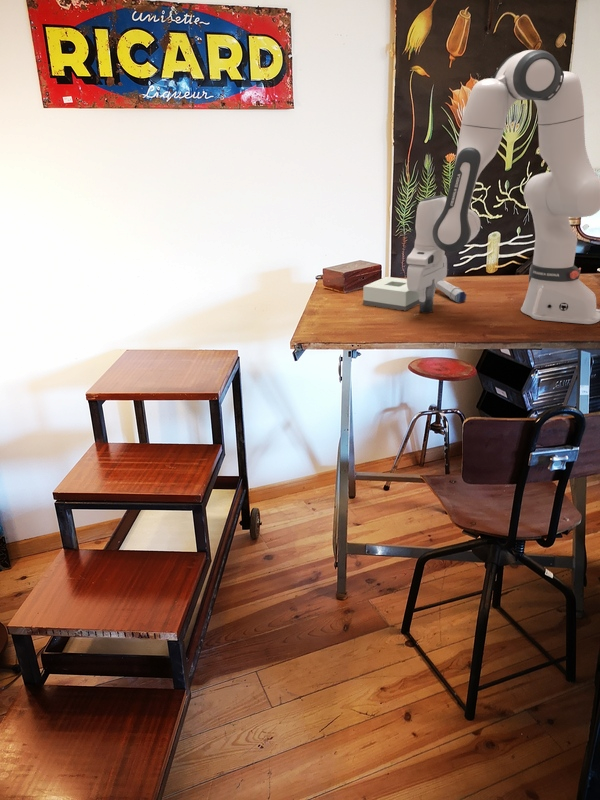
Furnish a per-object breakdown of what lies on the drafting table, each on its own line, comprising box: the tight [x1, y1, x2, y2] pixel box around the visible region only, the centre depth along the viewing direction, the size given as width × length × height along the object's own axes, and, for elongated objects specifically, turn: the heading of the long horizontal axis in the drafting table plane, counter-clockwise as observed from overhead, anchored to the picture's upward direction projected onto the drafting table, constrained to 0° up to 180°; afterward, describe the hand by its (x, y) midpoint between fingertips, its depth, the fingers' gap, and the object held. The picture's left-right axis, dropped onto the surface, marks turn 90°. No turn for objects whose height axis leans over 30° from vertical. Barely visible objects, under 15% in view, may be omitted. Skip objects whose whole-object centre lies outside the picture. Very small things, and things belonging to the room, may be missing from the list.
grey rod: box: [436, 279, 467, 304], centre depth 202 cm, size 5×7×25 cm
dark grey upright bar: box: [418, 279, 435, 314], centre depth 182 cm, size 4×4×10 cm
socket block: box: [362, 276, 420, 312], centre depth 193 cm, size 15×15×6 cm
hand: (426, 299), depth 183 cm, fingers closed on dark grey upright bar, 4 cm apart
